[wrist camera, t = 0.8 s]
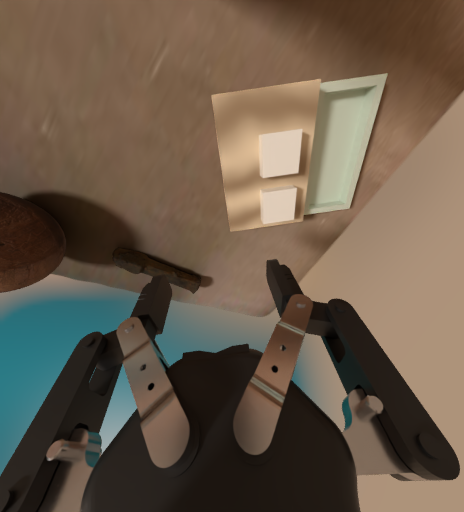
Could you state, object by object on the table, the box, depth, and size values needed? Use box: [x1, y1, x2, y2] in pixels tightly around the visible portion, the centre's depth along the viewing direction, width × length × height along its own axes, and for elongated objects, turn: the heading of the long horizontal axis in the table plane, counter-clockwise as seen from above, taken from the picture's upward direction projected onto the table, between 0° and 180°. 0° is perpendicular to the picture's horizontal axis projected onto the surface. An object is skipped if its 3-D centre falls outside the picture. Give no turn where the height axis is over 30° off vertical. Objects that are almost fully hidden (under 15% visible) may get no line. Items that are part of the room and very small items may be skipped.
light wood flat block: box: [212, 79, 321, 232], centre depth 27 cm, size 18×13×5 cm
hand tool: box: [113, 248, 201, 294], centre depth 38 cm, size 19×4×5 cm, turn 54°
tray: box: [304, 73, 388, 215], centre depth 28 cm, size 18×9×2 cm, turn 7°
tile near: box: [259, 129, 302, 178], centre depth 23 cm, size 5×5×2 cm
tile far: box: [260, 185, 297, 224], centre depth 27 cm, size 5×5×2 cm
